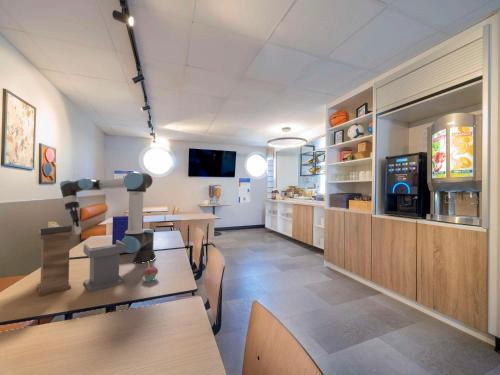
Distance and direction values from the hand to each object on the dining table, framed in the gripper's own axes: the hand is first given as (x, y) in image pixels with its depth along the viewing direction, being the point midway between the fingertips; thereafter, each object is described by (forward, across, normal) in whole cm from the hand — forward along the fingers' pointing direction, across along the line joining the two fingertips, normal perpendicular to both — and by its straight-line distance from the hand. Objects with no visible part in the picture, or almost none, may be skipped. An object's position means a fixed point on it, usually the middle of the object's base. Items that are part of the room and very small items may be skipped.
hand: (78, 232), depth 144 cm
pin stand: (+28, +23, -16) cm, 40 cm away
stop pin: (-2, +25, -11) cm, 28 cm away
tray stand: (+35, +31, +4) cm, 47 cm away
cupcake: (+42, +41, +25) cm, 64 cm away
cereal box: (+23, -22, +29) cm, 43 cm away
